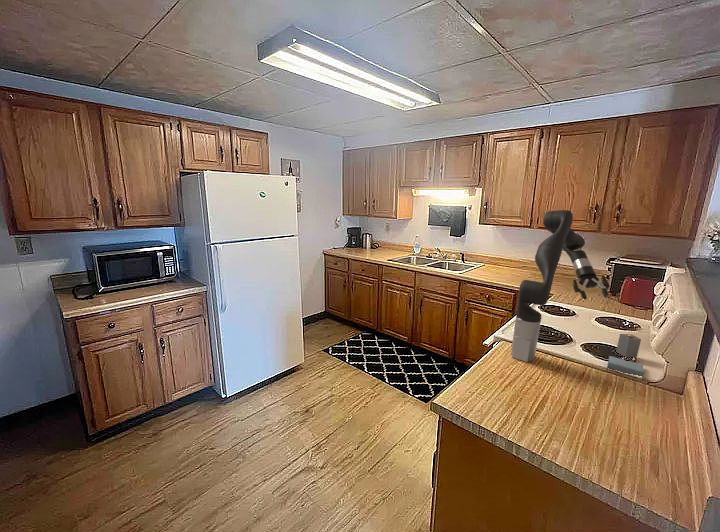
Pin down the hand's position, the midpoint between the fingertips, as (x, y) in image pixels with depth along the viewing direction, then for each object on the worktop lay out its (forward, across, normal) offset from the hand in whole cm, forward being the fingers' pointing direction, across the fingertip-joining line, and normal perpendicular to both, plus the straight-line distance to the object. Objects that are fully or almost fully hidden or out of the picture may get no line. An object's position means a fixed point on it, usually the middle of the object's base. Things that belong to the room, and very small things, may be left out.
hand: (595, 297), depth 154 cm
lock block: (+28, +4, +5) cm, 28 cm away
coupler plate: (+35, -2, -4) cm, 35 cm away
